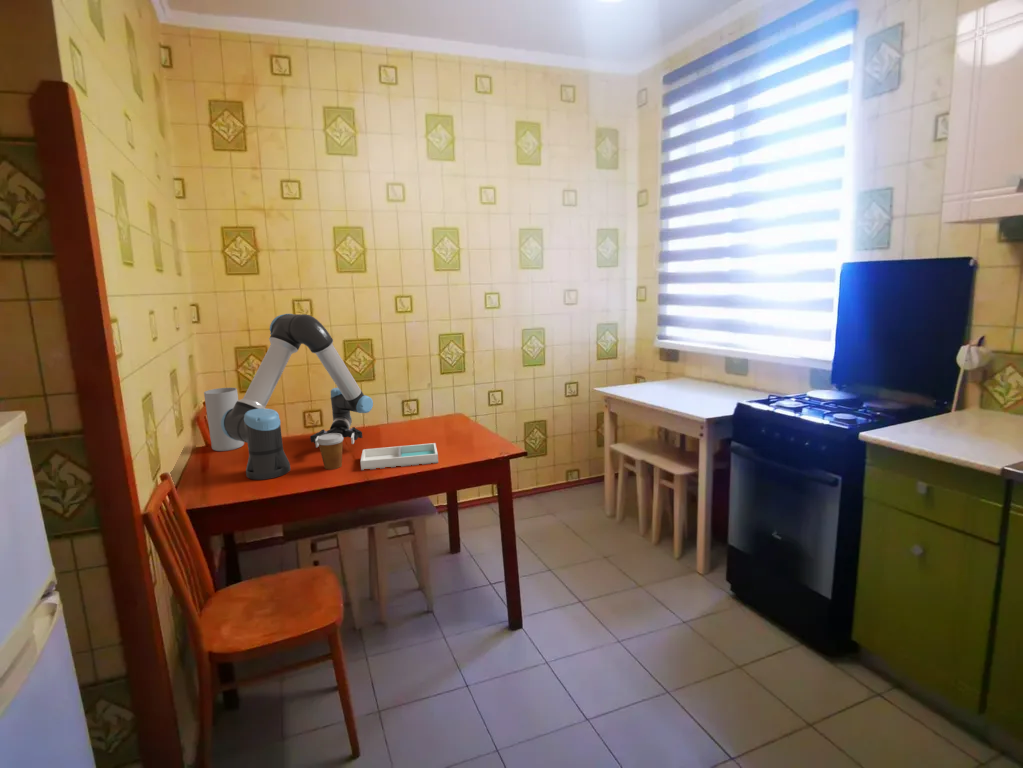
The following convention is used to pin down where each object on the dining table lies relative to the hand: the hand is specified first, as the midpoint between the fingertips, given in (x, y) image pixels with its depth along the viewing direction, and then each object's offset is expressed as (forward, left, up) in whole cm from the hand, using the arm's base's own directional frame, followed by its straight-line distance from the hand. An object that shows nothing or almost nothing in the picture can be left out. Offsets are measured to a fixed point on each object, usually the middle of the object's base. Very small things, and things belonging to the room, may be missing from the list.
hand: (334, 442), depth 220 cm
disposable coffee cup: (0, -10, -7) cm, 12 cm away
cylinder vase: (-48, +30, -7) cm, 57 cm away
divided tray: (+25, -10, -7) cm, 28 cm away
